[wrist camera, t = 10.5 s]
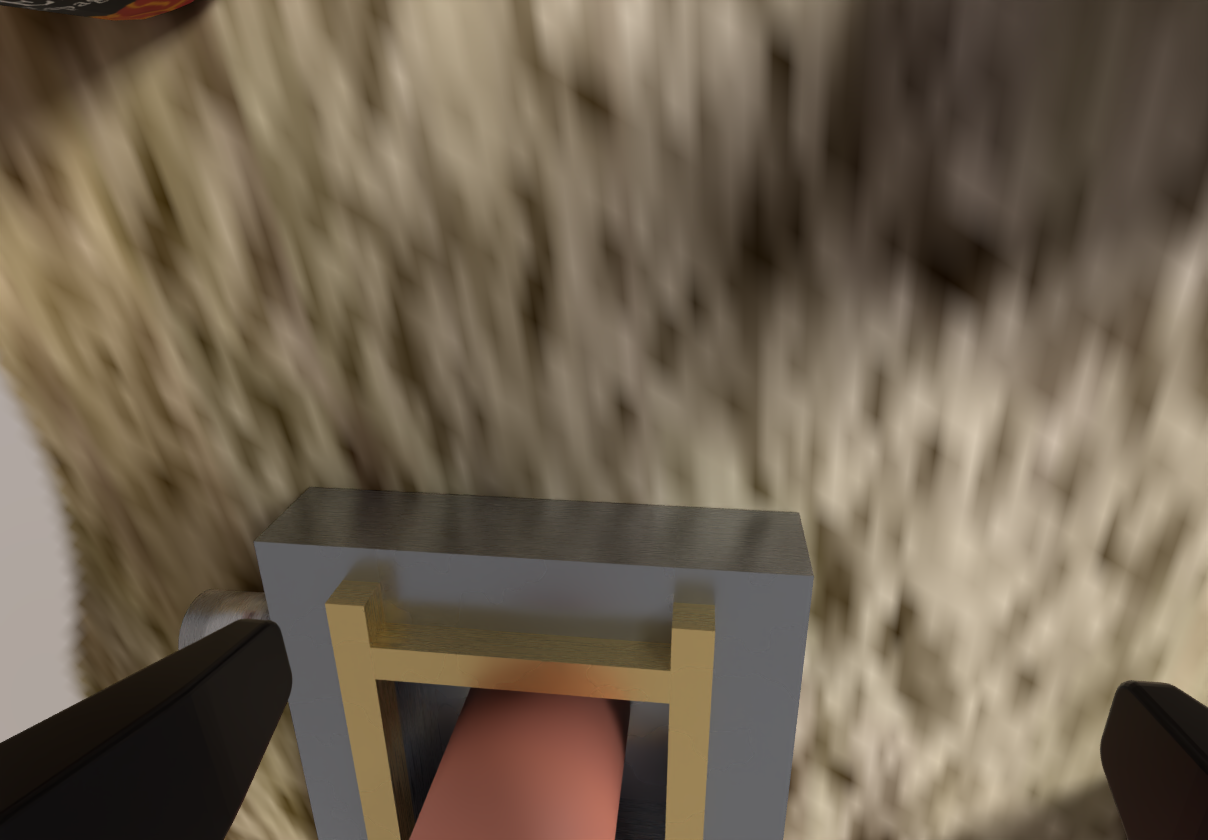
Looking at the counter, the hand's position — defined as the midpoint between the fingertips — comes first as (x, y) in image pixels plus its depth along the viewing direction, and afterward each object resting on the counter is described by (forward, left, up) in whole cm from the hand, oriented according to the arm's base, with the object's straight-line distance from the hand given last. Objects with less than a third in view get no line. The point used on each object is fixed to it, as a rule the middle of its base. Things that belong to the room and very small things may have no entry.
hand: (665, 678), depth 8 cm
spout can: (+4, +11, -12) cm, 17 cm away
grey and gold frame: (+5, +11, -12) cm, 17 cm away
